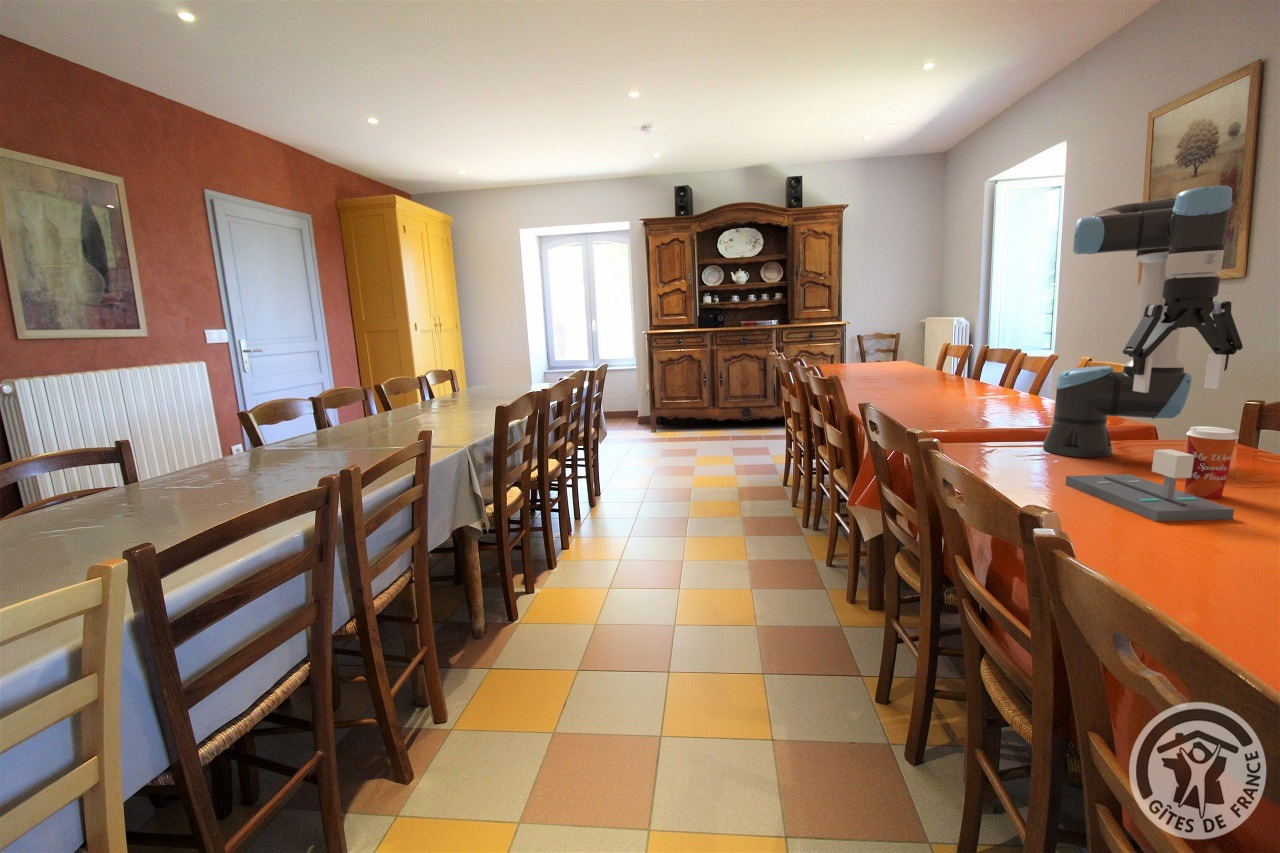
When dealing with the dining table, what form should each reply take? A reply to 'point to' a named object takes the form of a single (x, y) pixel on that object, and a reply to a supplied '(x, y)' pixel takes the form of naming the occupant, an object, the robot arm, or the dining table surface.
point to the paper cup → (1209, 460)
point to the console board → (1149, 498)
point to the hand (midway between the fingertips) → (1176, 390)
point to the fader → (1172, 468)
